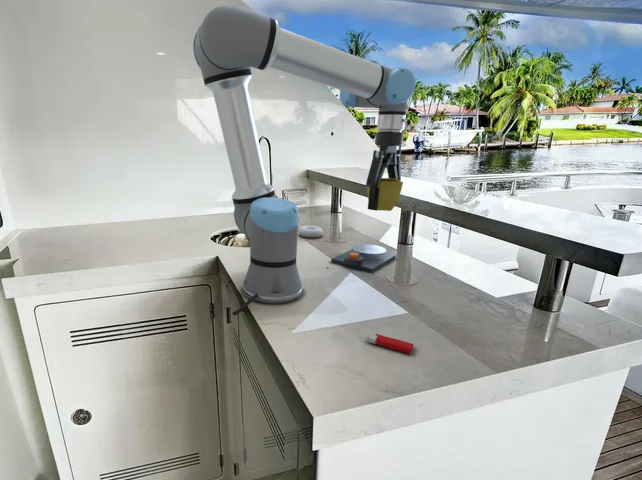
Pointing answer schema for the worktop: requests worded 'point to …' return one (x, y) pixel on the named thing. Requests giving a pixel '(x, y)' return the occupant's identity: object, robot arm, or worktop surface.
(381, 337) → the lighter
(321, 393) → the worktop surface
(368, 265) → the scale
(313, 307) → the worktop surface
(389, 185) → the flower pot
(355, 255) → the tare button
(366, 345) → the worktop surface
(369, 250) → the scale pan
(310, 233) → the donut
